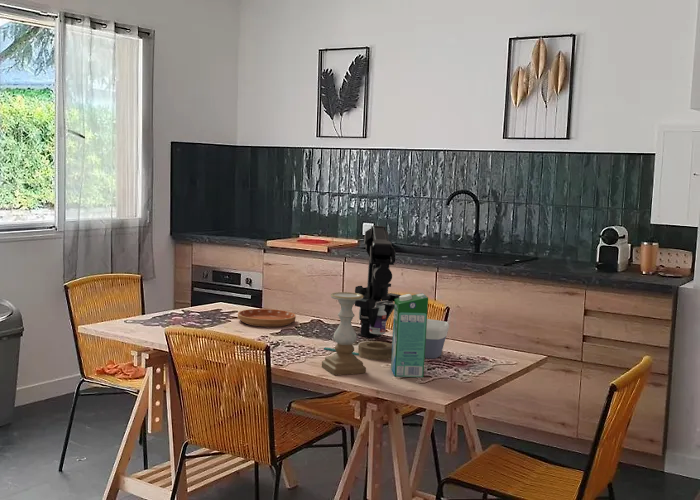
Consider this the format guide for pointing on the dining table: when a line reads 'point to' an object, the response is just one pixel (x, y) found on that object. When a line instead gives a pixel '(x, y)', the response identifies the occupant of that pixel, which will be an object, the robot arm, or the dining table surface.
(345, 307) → the candle holder
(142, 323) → the dining table surface
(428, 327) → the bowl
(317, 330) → the dining table surface
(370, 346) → the brown faceted ring
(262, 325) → the saucer
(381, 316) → the pill bottle
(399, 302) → the milk carton
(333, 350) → the teal stick
